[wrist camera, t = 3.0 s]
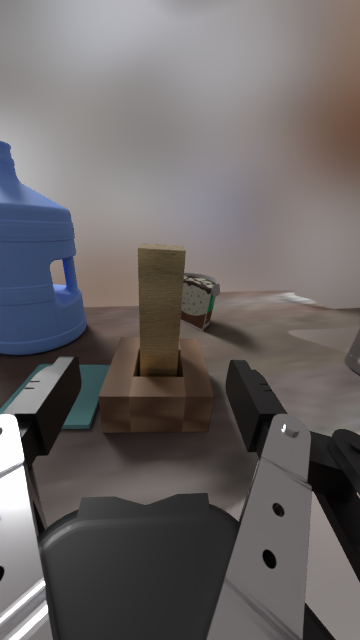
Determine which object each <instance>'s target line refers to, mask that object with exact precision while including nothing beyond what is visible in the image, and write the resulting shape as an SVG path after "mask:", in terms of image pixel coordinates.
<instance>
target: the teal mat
mask: <svg viewBox="0 0 360 640" xmlns="http://www.w3.org/2000/svg"><path fill="white" fill-rule="evenodd" d="M52 365H53V364H39V366H38V367H37V368H36V369H35V370H34V371H33V372H32V373H31V375H30V376H29V377H28V378H27V379H26V380H25V381H24V382H23V384H22V385H21V386H20V387H19V388H18V389H17V390H16V392H15V393H14V394H13V395H12V396H11V397H10V398H9V399H8V401H7V402H6V403H5V404H4V405H3V406H2V407H1V409H0V415H2V413H3V412H4V411H5V410H6V409H7V408H8V406H9V405H10V404H11V403H12V402H13V401H14V400H15V398H16V397H17V396H18V395H19V394H20V393H21V391H22V390H23V389H25V387H26V386H27V384H28V383H29V382H31V380H32V379H33V377H34V376H35V375H36V374H37V373H38V372H39V371H41V370H43V369H44V368H46V367H47V366H52ZM79 367H80V373H81V380H82V385H81V390H80V393H79V395H78V397H77V399H76V401H75V403H74V405H73V407H72V409H71V411H70V413H69V415H68V417H67V419H66V421H65V423H64V425H63V427H62V429H90V427H91V424H92V421H93V418H94V416H95V413H96V410H97V407H98V405H99V398H98V396H99V393H100V391H101V388H102V386H103V383H104V380H105V378H106V375H107V373H108V370H109V367H110V365H79Z"/></svg>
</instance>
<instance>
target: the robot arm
mask: <svg viewBox="0 0 360 640" xmlns="http://www.w3.org/2000/svg"><path fill="white" fill-rule="evenodd" d="M345 361H346V363H347V365H348V366H349V367H350V368H351V369H352V370H353V371H355V372H356V373H358V374H359V375H360V329H359V331H358V333H357V335H356V337H355V339H354V341H353V343H352V345H351V347H350V349H349V352H348V354H347V356H346V358H345ZM81 385H82V380H81V373H80V367H79V361H78V358H77V357H75V356H60V357H59V358H58V359H57V360H56V362H55V363H54V364H53V365H52V366H47V367H46V368H44V369H43V370H41V371H39V372H38V373H37V374H36V375H35V376H34V377H33V379H32V380H31V382H29V383H28V384H27V386H26V387H25V389H23V390H22V391H21V393H20V394H19V395H18V396H17V397H16V398H15V400H14V401H13V402H12V403H11V404H10V405H9V406H8V408H7V409H6V410H5V411H4V412H3V413H2V415H0V640H335V639H334V637H333V636H332V635H331V634H330V632H329V631H328V630H327V629H326V627H325V626H324V625H323V624H322V622H321V621H320V620H319V619H318V618H317V616H316V615H315V614H314V613H313V611H312V610H311V609H310V608H309V607H308V605H307V604H306V603H305V591H306V590H305V589H306V573H307V559H308V544H309V529H310V514H311V498H312V491H313V492H314V493H315V495H316V497H317V499H318V501H319V503H320V505H321V507H322V509H323V511H324V513H325V515H326V517H327V519H328V521H329V523H330V524H331V527H332V528H333V531H334V532H335V534H336V536H337V538H338V540H339V542H340V544H341V546H342V548H343V550H344V552H345V554H346V556H347V558H348V560H349V562H350V564H351V566H352V568H353V570H354V572H355V574H356V576H357V578H358V580H359V582H360V498H359V497H358V495H357V494H356V493H357V492H358V494H359V495H360V435H358V434H356V433H354V432H352V431H349V430H345V429H338V430H336V431H335V432H334V433H333V435H332V437H330V436H326V435H322V434H319V433H315V432H312V431H309V429H308V428H307V427H306V425H305V424H304V423H303V422H301V421H300V420H299V419H297V418H295V417H293V416H291V415H288V414H287V412H286V411H285V409H284V408H283V406H282V405H281V403H280V402H279V400H278V398H277V397H276V395H275V394H274V392H273V391H272V389H271V388H270V386H269V385H268V383H267V381H266V380H265V378H264V377H263V376H262V375H261V374H260V373H259V372H257V371H256V370H251V368H250V367H249V365H248V363H247V362H246V361H245V360H231V361H230V364H229V369H228V374H227V379H226V394H227V397H228V399H229V402H230V405H231V408H232V410H233V413H234V416H235V419H236V421H237V424H238V427H239V430H240V432H241V435H242V438H243V441H244V443H245V446H246V449H247V452H257V455H258V457H259V459H258V462H257V465H256V469H255V472H254V475H253V478H252V481H251V484H250V488H249V491H248V494H247V497H246V500H245V503H244V506H243V509H242V512H241V515H240V519H239V521H237V520H236V519H235V518H233V517H232V516H231V515H230V514H229V513H227V512H226V511H224V510H222V509H221V508H218V507H216V506H214V505H211V504H209V501H208V494H207V493H196V494H177V495H174V496H171V497H168V498H166V499H163V500H160V501H157V502H154V503H152V504H149V505H142V504H138V503H135V502H131V501H128V500H124V499H121V498H117V497H89V498H82V500H81V503H80V507H79V510H76V511H74V512H72V513H69V514H67V515H65V516H64V517H62V518H60V519H59V520H57V521H56V522H54V523H53V524H52V525H50V526H49V527H47V524H46V520H45V517H44V513H43V509H42V505H41V501H40V496H39V492H38V487H37V483H36V478H35V474H34V469H33V466H32V463H33V462H34V460H35V458H36V456H44V455H48V454H49V452H50V450H51V448H52V446H53V444H54V442H55V440H56V438H57V436H58V434H59V432H60V431H61V429H62V427H63V425H64V423H65V421H66V419H67V417H68V415H69V413H70V411H71V409H72V407H73V405H74V403H75V401H76V399H77V397H78V395H79V393H80V390H81Z"/></svg>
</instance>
